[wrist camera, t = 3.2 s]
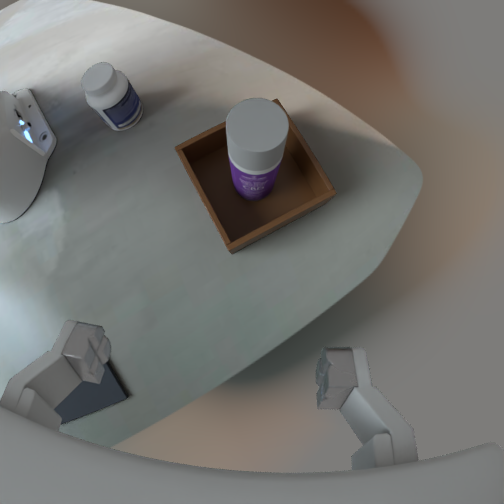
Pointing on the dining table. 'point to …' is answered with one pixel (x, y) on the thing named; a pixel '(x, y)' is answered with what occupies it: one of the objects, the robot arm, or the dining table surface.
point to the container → (255, 146)
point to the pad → (91, 396)
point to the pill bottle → (112, 96)
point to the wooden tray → (263, 211)
